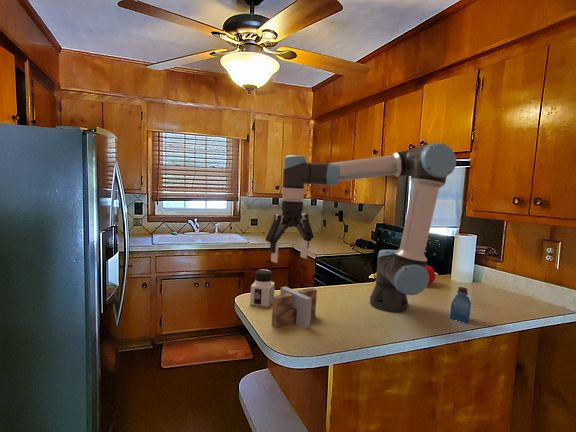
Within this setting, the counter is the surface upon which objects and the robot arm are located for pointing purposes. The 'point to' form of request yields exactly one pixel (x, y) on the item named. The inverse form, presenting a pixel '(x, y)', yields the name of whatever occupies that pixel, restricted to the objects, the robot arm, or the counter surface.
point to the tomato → (430, 274)
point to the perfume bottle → (461, 306)
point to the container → (262, 289)
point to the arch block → (300, 306)
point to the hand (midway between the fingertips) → (289, 259)
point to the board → (289, 307)
